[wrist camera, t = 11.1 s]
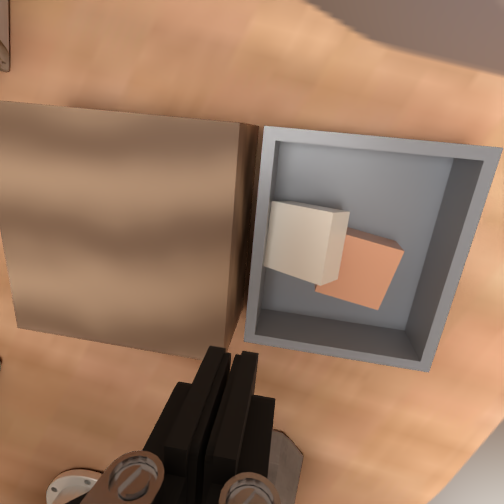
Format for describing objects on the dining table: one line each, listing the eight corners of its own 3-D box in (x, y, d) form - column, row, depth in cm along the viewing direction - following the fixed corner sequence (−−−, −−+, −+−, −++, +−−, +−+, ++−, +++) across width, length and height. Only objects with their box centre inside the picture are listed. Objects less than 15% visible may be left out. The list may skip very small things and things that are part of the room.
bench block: (242, 308, 31) (222, 363, 24) (82, 284, 33) (17, 327, 26) (258, 126, 26) (239, 122, 18) (66, 108, 28) (-23, 98, 20)
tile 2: (263, 266, 26) (282, 261, 28) (320, 285, 23) (337, 279, 25) (271, 200, 25) (290, 200, 26) (333, 212, 21) (350, 211, 23)
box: (409, 334, 30) (428, 372, 25) (253, 310, 31) (243, 341, 26) (464, 145, 24) (503, 147, 19) (271, 127, 26) (264, 125, 21)
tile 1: (314, 291, 26) (314, 278, 28) (378, 310, 26) (371, 295, 28) (336, 231, 24) (333, 223, 27) (404, 251, 24) (395, 240, 26)
